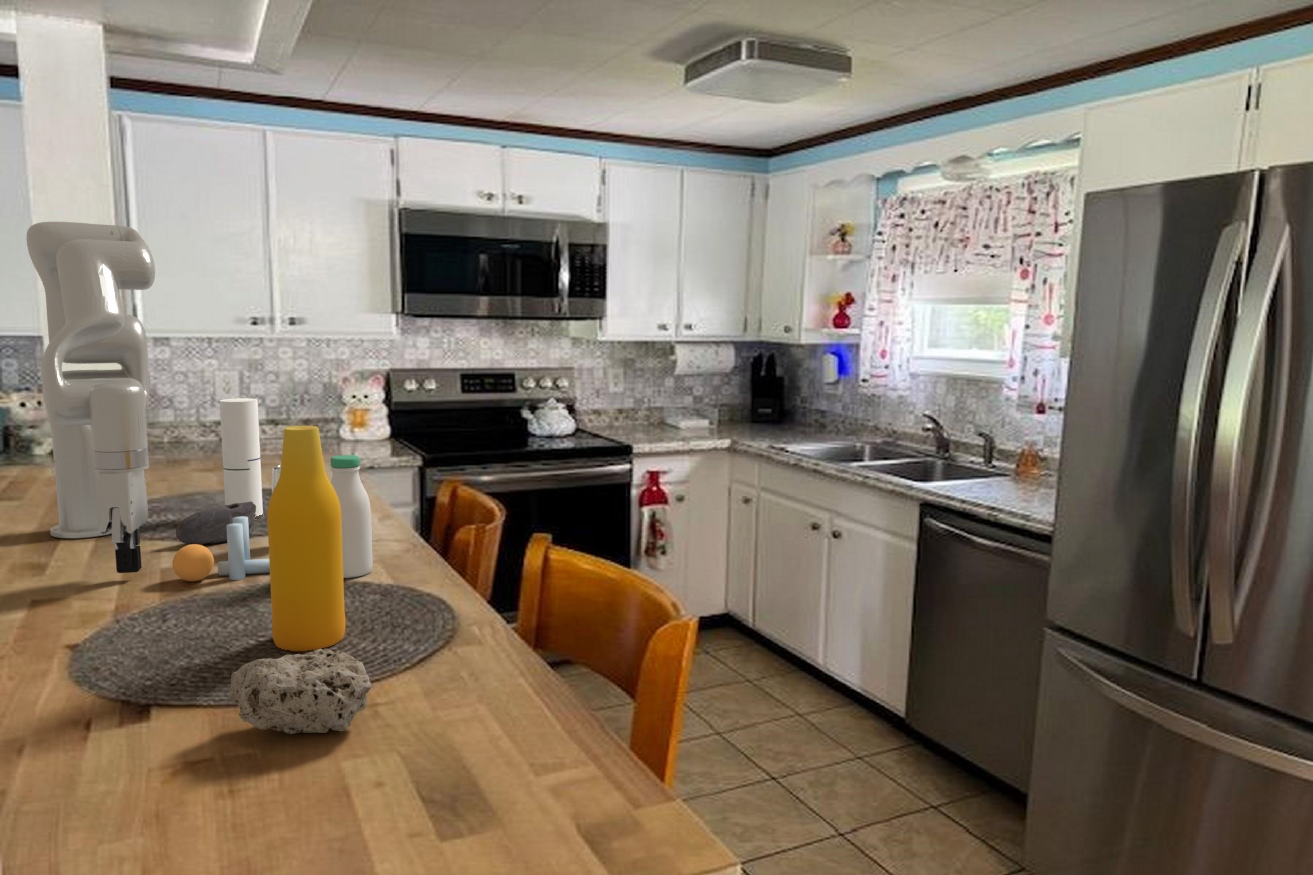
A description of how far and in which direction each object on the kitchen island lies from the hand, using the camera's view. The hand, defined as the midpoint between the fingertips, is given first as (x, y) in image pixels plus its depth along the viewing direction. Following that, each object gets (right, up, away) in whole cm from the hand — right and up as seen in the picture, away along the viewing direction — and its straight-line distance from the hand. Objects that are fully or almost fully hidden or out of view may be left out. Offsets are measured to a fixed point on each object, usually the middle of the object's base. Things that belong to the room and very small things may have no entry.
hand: (129, 570), depth 144 cm
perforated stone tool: (+3, +2, +25) cm, 25 cm away
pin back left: (+17, -2, +2) cm, 17 cm away
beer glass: (+18, +1, +22) cm, 29 cm away
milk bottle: (+34, -1, +6) cm, 34 cm away
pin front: (+13, 0, +4) cm, 13 cm away
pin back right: (+15, -1, +7) cm, 17 cm away
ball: (+10, +1, 0) cm, 11 cm away
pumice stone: (+48, -10, -48) cm, 68 cm away
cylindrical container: (-2, +5, +44) cm, 44 cm away
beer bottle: (+39, -6, -24) cm, 46 cm away
